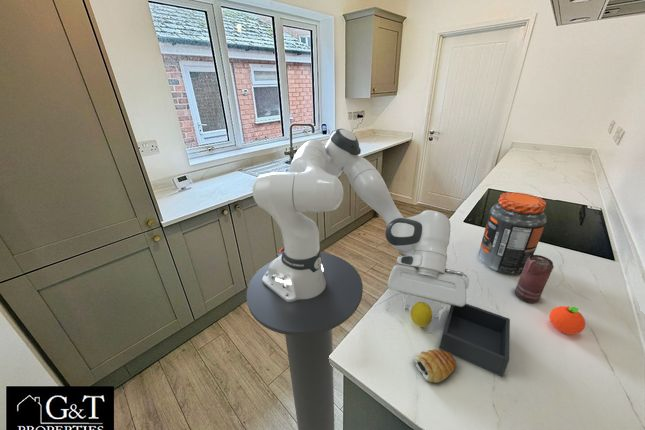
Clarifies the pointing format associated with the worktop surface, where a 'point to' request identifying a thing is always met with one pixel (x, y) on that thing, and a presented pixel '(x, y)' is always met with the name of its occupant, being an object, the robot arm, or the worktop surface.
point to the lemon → (421, 314)
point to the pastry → (435, 365)
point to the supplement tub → (512, 232)
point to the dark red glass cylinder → (533, 278)
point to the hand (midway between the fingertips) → (421, 315)
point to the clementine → (567, 319)
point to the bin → (477, 337)
